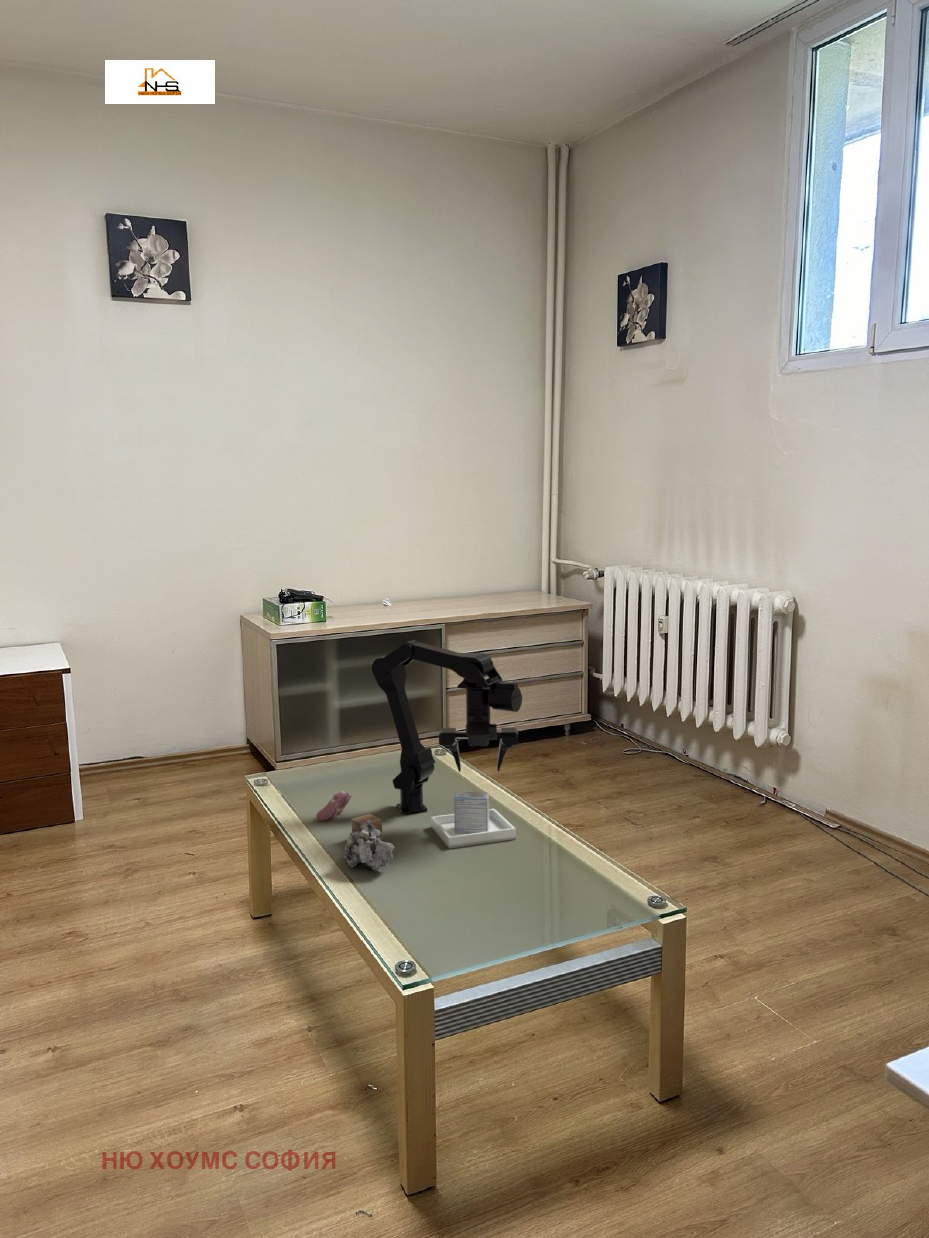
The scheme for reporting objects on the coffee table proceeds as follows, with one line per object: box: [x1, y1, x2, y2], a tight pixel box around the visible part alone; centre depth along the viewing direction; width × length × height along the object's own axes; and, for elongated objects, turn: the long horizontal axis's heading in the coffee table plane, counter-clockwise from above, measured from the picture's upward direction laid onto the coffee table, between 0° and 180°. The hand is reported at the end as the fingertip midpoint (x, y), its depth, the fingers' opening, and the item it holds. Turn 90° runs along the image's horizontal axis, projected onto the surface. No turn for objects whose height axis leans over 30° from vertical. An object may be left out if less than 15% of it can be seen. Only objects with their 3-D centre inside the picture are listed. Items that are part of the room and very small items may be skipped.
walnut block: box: [351, 813, 383, 842], centre depth 211 cm, size 5×5×5 cm
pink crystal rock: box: [315, 790, 352, 822], centre depth 227 cm, size 10×5×7 cm, turn 163°
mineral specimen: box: [343, 820, 396, 873], centre depth 197 cm, size 13×10×11 cm
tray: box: [430, 808, 517, 849], centre depth 215 cm, size 14×16×2 cm
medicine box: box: [453, 791, 490, 833], centre depth 214 cm, size 8×4×9 cm, turn 85°
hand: (479, 771), depth 220 cm, fingers open, 9 cm apart
